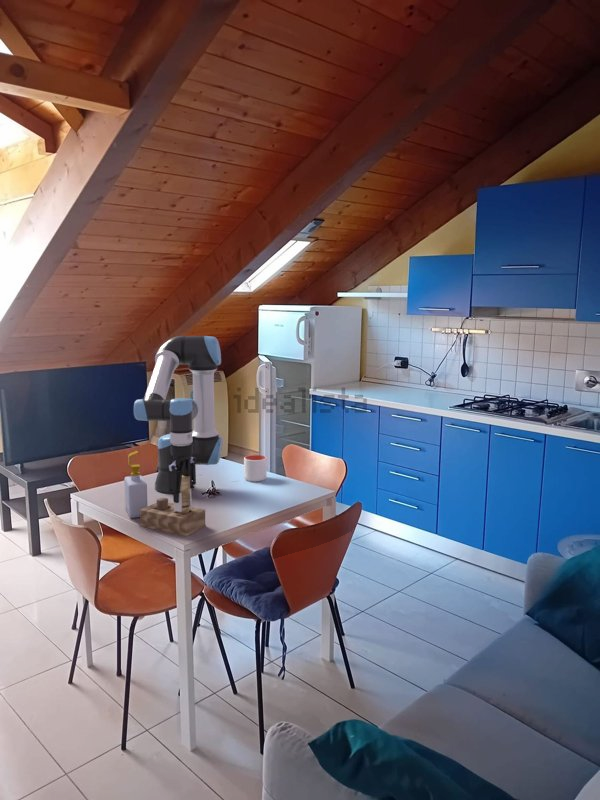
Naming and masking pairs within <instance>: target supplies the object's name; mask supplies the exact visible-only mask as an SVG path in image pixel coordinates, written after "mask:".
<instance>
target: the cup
mask: <svg viewBox="0 0 600 800" xmlns="http://www.w3.org/2000/svg"><path fill="white" fill-rule="evenodd" d="M267 458H268V457H267V456H265V455H260V454H250V455H246V456H244V458H243V477H244V480H246V481H248V482H251V483H252V482H254V483H255V482H256V483H257V482H262V481H265V480H266V478H267V472H268V471H267V469H268V468H267V467H268V466H267Z"/></svg>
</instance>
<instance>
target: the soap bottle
mask: <svg viewBox="0 0 600 800" xmlns="http://www.w3.org/2000/svg"><path fill="white" fill-rule="evenodd" d="M138 454H139V451H138V450H135V451H133V452H130V453H129V454H128V455H127V462H128V463H127V464H128V467H130V470H132V472H130V476H125V477H124V479H123V480H124V502H125V503H124V505H125V506H124V507H125V509H126V511H127V513H128V514H127V515H128V516H129V518H131V519H135V518H140V510H141V509H143V508H146V507H148V506H149V505H148V483H147V482H146V480H145V479H144V477H143V475H141V472H140V471H138V470H139V469H140V468H141V465H140V464H131V457H132V456H136V455H138Z"/></svg>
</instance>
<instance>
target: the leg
mask: <svg viewBox="0 0 600 800" xmlns="http://www.w3.org/2000/svg"><path fill="white" fill-rule="evenodd" d="M180 493H182V511H181V512H178V511H177V514H181V515H186V514H188V513H189V500H190V476H184V475H182V479H181V487H180Z"/></svg>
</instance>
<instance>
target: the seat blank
mask: <svg viewBox="0 0 600 800" xmlns="http://www.w3.org/2000/svg"><path fill="white" fill-rule="evenodd" d="M139 518H140V520H139V521H140V527H143V528H148V529H153V530H157V531H161V532H167V533H170V534H176V535H179V536H184V537H188V536H190V535H191V534H194V533H196V532H197V531H199V530H201V529H203V528H205V527H206V509H204V508H199V507H193V506H192V507H189V513H188V514H186V515H181V514H177V511H174V502H173V503H172V502H169V499H168V498H166V497H159V498H157V499H156V502H155V503H153V504H151V505H150V504H149V505H148V507H146V508H143V509H141V510H140V517H139Z"/></svg>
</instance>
